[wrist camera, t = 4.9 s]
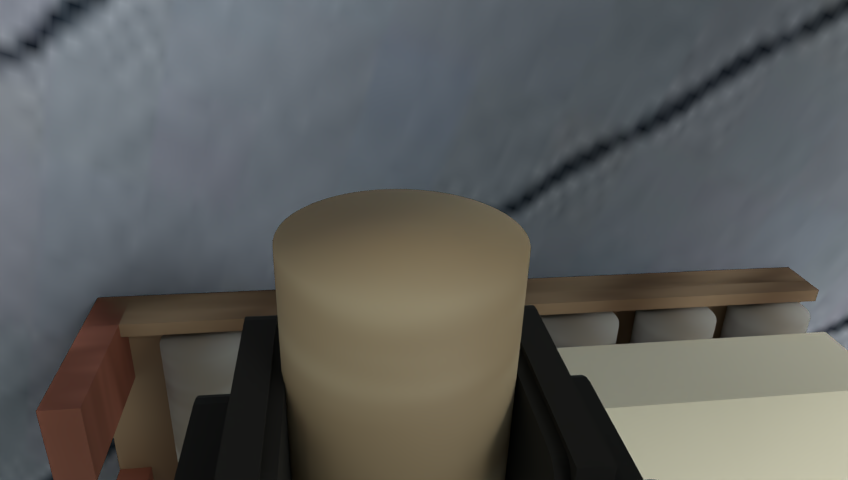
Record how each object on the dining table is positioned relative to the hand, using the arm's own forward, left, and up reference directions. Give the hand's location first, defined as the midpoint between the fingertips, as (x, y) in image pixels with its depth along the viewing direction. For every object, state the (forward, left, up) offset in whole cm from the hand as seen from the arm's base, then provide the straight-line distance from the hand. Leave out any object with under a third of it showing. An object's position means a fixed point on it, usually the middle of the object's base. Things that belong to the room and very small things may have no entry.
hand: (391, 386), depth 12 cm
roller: (0, 0, +1) cm, 1 cm away
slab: (-12, +11, -10) cm, 19 cm away
